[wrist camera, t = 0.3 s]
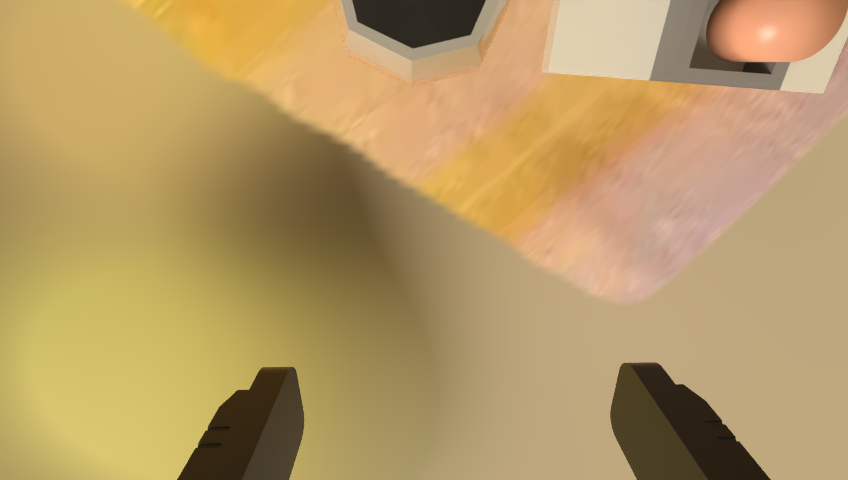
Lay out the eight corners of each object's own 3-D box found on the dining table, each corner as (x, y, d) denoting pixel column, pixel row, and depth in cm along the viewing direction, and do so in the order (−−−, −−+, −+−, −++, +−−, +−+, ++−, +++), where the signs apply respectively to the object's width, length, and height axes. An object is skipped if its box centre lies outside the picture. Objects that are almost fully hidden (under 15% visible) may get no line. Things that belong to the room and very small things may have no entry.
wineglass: (485, -38, 31) (591, -205, 12) (468, 86, 34) (528, 117, 15) (368, -53, 30) (274, -251, 11) (362, 74, 34) (284, 91, 15)
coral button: (720, -20, 27) (780, -37, 23) (790, -14, 28) (864, -30, 23) (696, 59, 29) (747, 58, 25) (762, 64, 29) (825, 65, 25)
